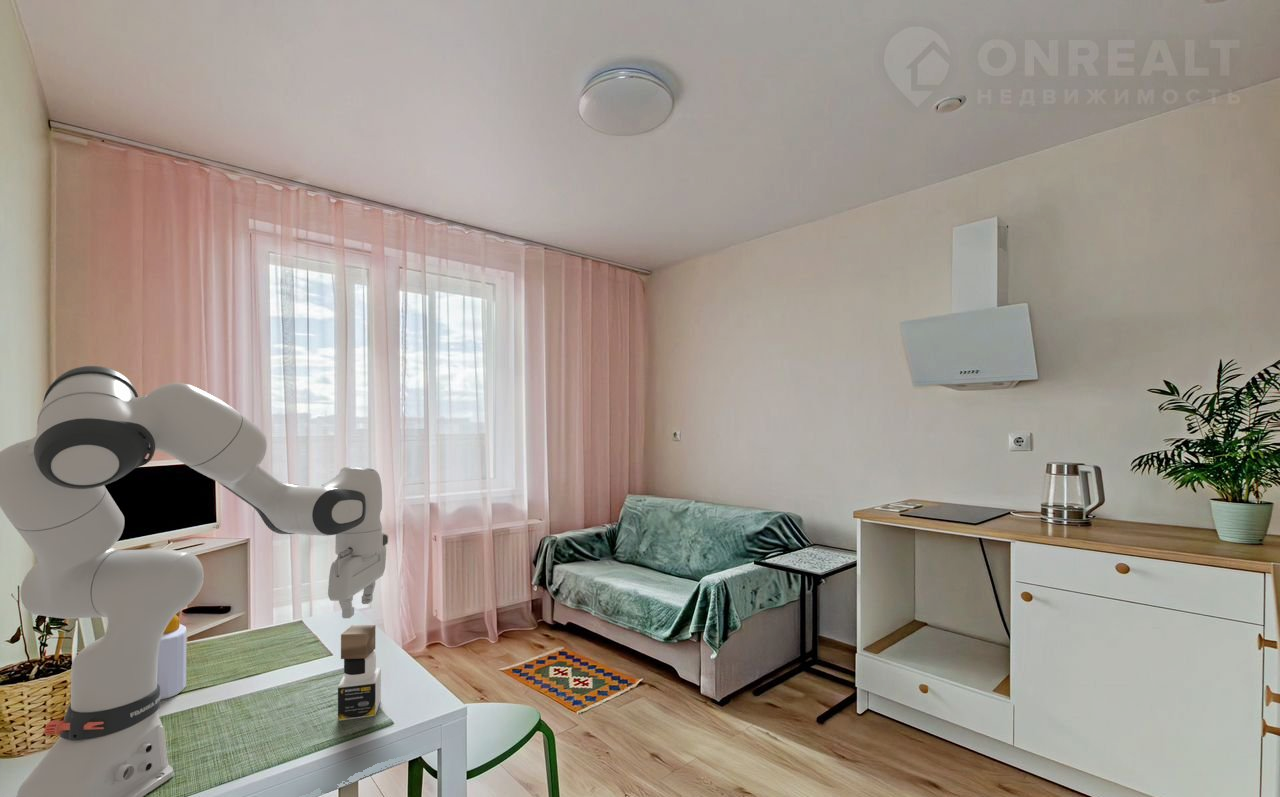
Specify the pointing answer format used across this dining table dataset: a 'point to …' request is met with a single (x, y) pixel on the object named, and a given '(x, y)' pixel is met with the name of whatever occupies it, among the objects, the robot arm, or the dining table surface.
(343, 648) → the walnut cube
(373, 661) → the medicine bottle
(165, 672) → the soap bottle
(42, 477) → the robot arm
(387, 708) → the dining table surface
